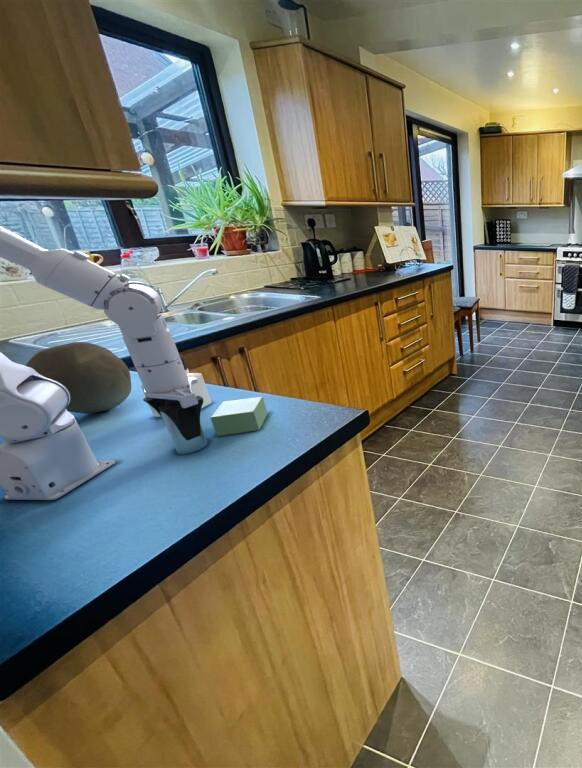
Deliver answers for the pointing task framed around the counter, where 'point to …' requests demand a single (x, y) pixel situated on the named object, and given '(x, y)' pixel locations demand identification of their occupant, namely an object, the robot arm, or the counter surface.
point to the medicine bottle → (196, 388)
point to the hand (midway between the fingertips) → (187, 433)
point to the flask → (178, 440)
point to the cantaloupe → (85, 375)
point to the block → (239, 416)
